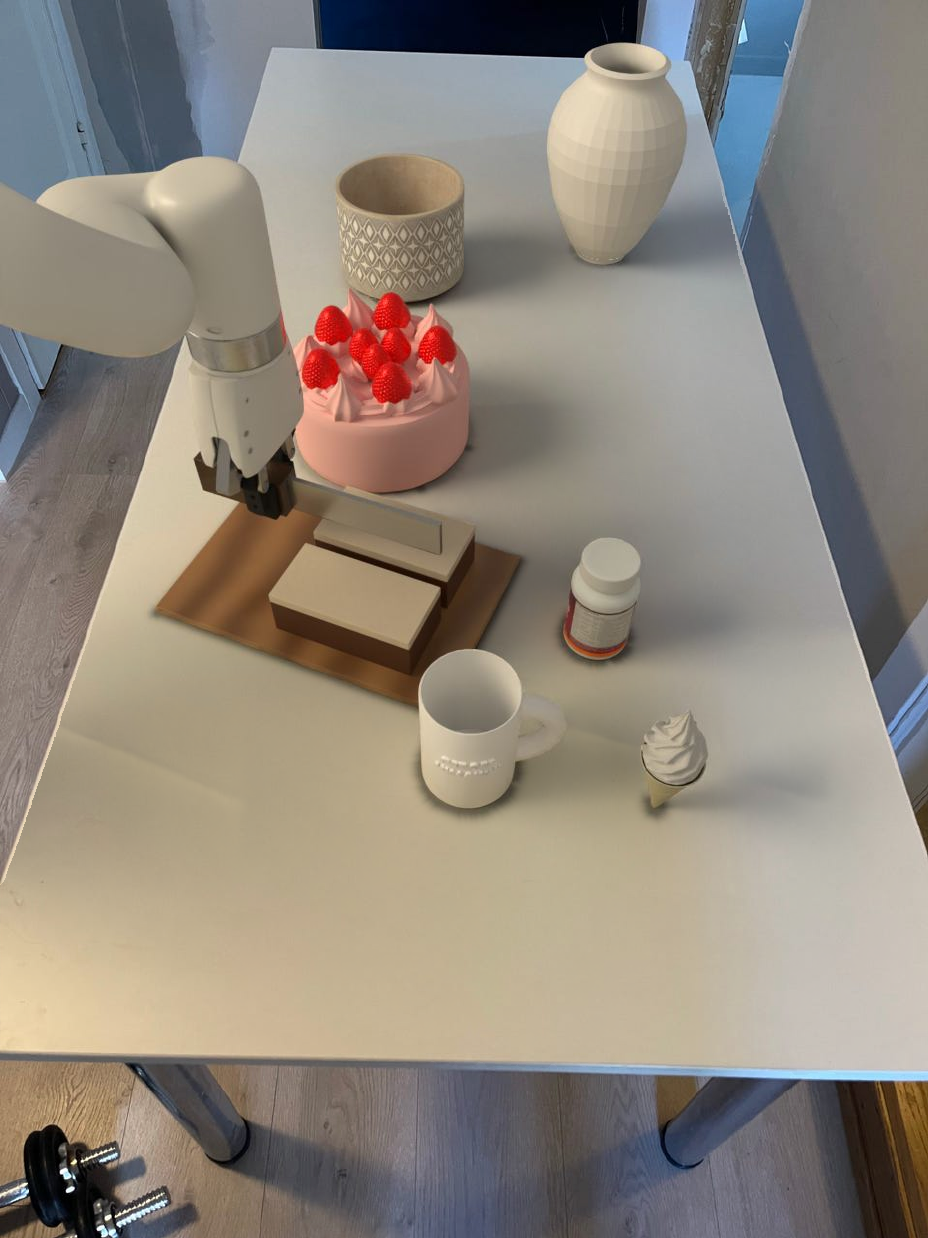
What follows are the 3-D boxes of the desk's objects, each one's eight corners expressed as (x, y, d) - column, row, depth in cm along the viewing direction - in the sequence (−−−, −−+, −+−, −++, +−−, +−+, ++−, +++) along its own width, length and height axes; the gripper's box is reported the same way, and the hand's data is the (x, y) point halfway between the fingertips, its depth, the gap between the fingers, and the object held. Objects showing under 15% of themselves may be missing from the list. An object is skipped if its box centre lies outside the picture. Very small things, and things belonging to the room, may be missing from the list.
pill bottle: (577, 602, 90) (591, 523, 81) (635, 625, 88) (657, 546, 79) (552, 647, 86) (564, 569, 77) (613, 672, 85) (632, 595, 76)
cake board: (158, 612, 88) (155, 606, 87) (263, 481, 100) (261, 474, 99) (441, 716, 81) (440, 710, 81) (519, 562, 93) (519, 555, 92)
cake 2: (318, 566, 91) (313, 531, 87) (350, 519, 95) (346, 484, 91) (447, 609, 88) (447, 575, 84) (474, 559, 92) (475, 525, 88)
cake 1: (370, 362, 113) (361, 255, 102) (504, 424, 106) (510, 317, 95) (261, 447, 103) (238, 340, 92) (401, 523, 96) (394, 417, 85)
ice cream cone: (621, 777, 78) (652, 679, 66) (681, 779, 78) (722, 681, 66) (626, 832, 75) (659, 739, 63) (688, 834, 75) (732, 742, 63)
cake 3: (276, 628, 86) (267, 594, 82) (311, 576, 90) (305, 542, 86) (410, 676, 83) (408, 643, 79) (441, 620, 87) (440, 587, 83)
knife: (202, 490, 86) (193, 458, 82) (217, 472, 87) (208, 440, 84) (435, 565, 80) (434, 534, 77) (447, 545, 82) (446, 513, 78)
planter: (439, 320, 118) (438, 227, 108) (324, 295, 122) (313, 203, 112) (478, 255, 128) (481, 165, 118) (371, 234, 131) (364, 144, 121)
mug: (566, 805, 76) (583, 731, 67) (424, 815, 75) (421, 742, 66) (552, 721, 81) (566, 642, 72) (419, 730, 80) (415, 651, 71)
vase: (682, 277, 125) (726, 81, 106) (560, 293, 123) (582, 95, 103) (636, 212, 136) (668, 23, 116) (523, 226, 133) (536, 35, 113)
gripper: (248, 268, 76) (281, 437, 90) (133, 381, 67) (191, 549, 81) (328, 288, 74) (349, 458, 89) (221, 407, 65) (264, 574, 79)
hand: (273, 500), depth 85 cm, fingers closed on knife, 2 cm apart
